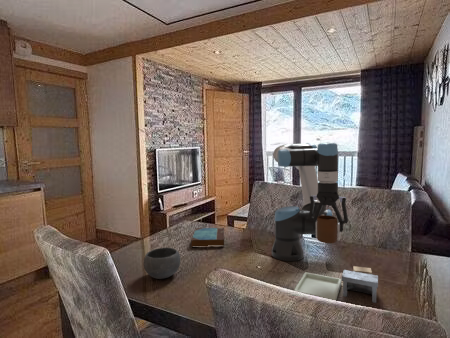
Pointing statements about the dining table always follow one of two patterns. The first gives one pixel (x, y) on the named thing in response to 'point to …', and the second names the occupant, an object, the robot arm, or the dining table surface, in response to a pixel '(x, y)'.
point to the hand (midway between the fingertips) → (327, 238)
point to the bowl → (162, 262)
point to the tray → (319, 285)
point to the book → (208, 237)
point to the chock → (362, 270)
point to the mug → (327, 229)
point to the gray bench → (360, 283)
